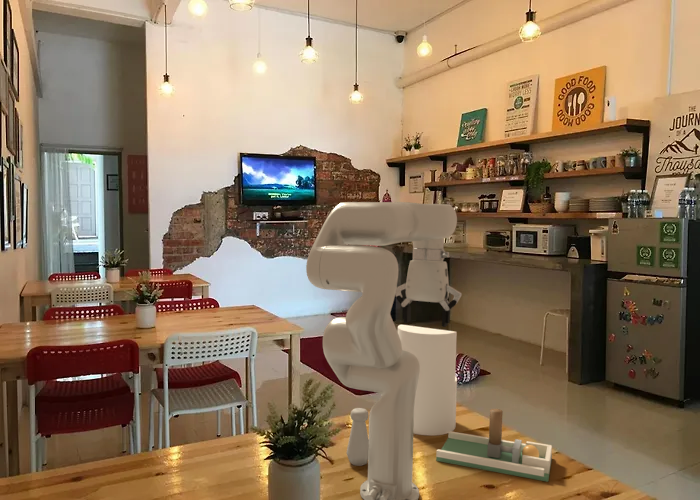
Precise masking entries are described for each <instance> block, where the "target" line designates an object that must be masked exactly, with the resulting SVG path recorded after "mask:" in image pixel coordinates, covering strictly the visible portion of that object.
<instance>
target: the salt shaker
mask: <svg viewBox="0 0 700 500" xmlns="http://www.w3.org/2000/svg"><path fill="white" fill-rule="evenodd" d="M350 419H351V420H352V424H351V429H350V434H349V438H348V443H347V449H346V456H347V460H348V461H349V463H350V464H352V466H358V467H362V466H365V465H368V449H369V432H368V429H367V423H366V422H367V420H369V411H368V410H367V409H366V408H363V407H355V408H353V409H352V410H351V411H350Z"/></svg>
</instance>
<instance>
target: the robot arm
mask: <svg viewBox="0 0 700 500" xmlns="http://www.w3.org/2000/svg"><path fill="white" fill-rule="evenodd" d="M457 224H458V217H457V211H456V210H455V208H454V207H453V206H452V205H451V204H446V203H444V204H443V203H417V202H407V201H406V202H405V201H394V202H392V201H388V202H387V201H386V202H385V201H381V202H380V201H379V202H378V201H377V202H376V201H374V202H373V201H372V202H371V201H370V202H369V201H366V202H365V201H361V202H358V201H352V202H351V201H347V202H346V201H345V202H340V203H339V204H336V205H335V207H334V208H332V209H331V211H330V213H329V214H328V215H327V217H326V219H325V221H324V223H323V225H322V226H321V228H320V231H319V232H318V234H317V236H316V238H315V240H314V242H313V244H312V246H311V248H310V251H309V253H308V256H307V260H306V265H305V266H306V267H305V268H306V271H305V272H306V275H307V278H308V281H309V282H310V284H311V285H313V286H314V287H315V288H318V289H321V290H329V291H330V290H331V291H342V292H354V293H362V294H361V296H360V297H359V298H357V299H356V300H355V301H354V302H353V303H352V305H351V306H350V308H348V311H347V312H346V315H345V316H339V317H335V318H334V319H332V320H330V321H329V322H328V323H327V325H326V327H325V328H324V332H323V335H322V349H323V354H324V357H325V360H326V361H327V363H328V365H329V366H330V368H331V369H332V371H333V372H334V374H335V376H336V377H337V378H338V380H339V381H340V383H342V384H343V385H344V386H345V387H348V388H351V389H355V390H360V391H368V392H372V393H373V392H374V393H378V394H380V398H379V399H378V400H377V401H376V402H375V403H374V404H373V405H372V407H371V408H370V411H369V413H368V439H369V449H368V461H367V479H366V480H364V482H363V483H362V484H361V485H360V487H359V490H360V491H359V493H360V496H361V498H362V499H363V500H419V497H420V489H419V488H418V486H417V485H416V484H415V483H414V482H413V468H414V467H413V466H414V465H413V463H414V434H413V432H414V406H415V396H416V390H417V385H418V379H419V373H420V365H419V361H418V359H417V358H416V356H415V355H413V354H412V353H410V352H408V351H405V350H402V344H401V340H400V337H399V334H398V329H397V328H396V325H395V323H394V321H393V318H392V315H391V311H392V308H393V304H394V302H395V299H396V300H397V302H398V303H400V305H401V307H402V319H403V320H404V321H403V322H404V324H408V323H409V322H411V320H412V307H411V305H410V304H411V303H412V302H413V301H415V302H416V301H418V302H427V303H429V302H430V303H439V304H440V305H441V306H442V308H443V310H442V312H441V327H442V328H445V327H447V326H448V325H449V324H450V321H451V310H452V309H453V308H454V307H455V306H456V305H457V304H458V302H459V301H460V299H461V297H462V295H463V293H462V292H461V291H459V290H457V289H455V288H454V287H452V286H450V285H449V284H450V283H449V271H448V263H447V261H444V260H445V258H449V257H450V252H449V251H446V250H445V249H444V245H445V244H444V242H445V241H444V239H446V238H449V237H451V236H452V235H453V234H454V232H455V230H456V227H457ZM406 242H408V243H409V242H410V243H411V242H412V260H409V263H408V264H409V265H408V269H407V276H406V282H404V283H403V284H401V285H399V286H398V281H399V270H400V269H399V263H398V260H397V257H396V256H395V255H394V253H393V252H391V251H390V250H388V249H386V248H384V247H381V246H389V245H394V244H399V243H406ZM403 290H405V297H406V298H405V297H404V296H403V294H402V291H403ZM449 294H451V295H453V298H452V300H451V301H450V302H449V300H448V299H449V296H450V295H449ZM395 297H396V298H395Z"/></svg>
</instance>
